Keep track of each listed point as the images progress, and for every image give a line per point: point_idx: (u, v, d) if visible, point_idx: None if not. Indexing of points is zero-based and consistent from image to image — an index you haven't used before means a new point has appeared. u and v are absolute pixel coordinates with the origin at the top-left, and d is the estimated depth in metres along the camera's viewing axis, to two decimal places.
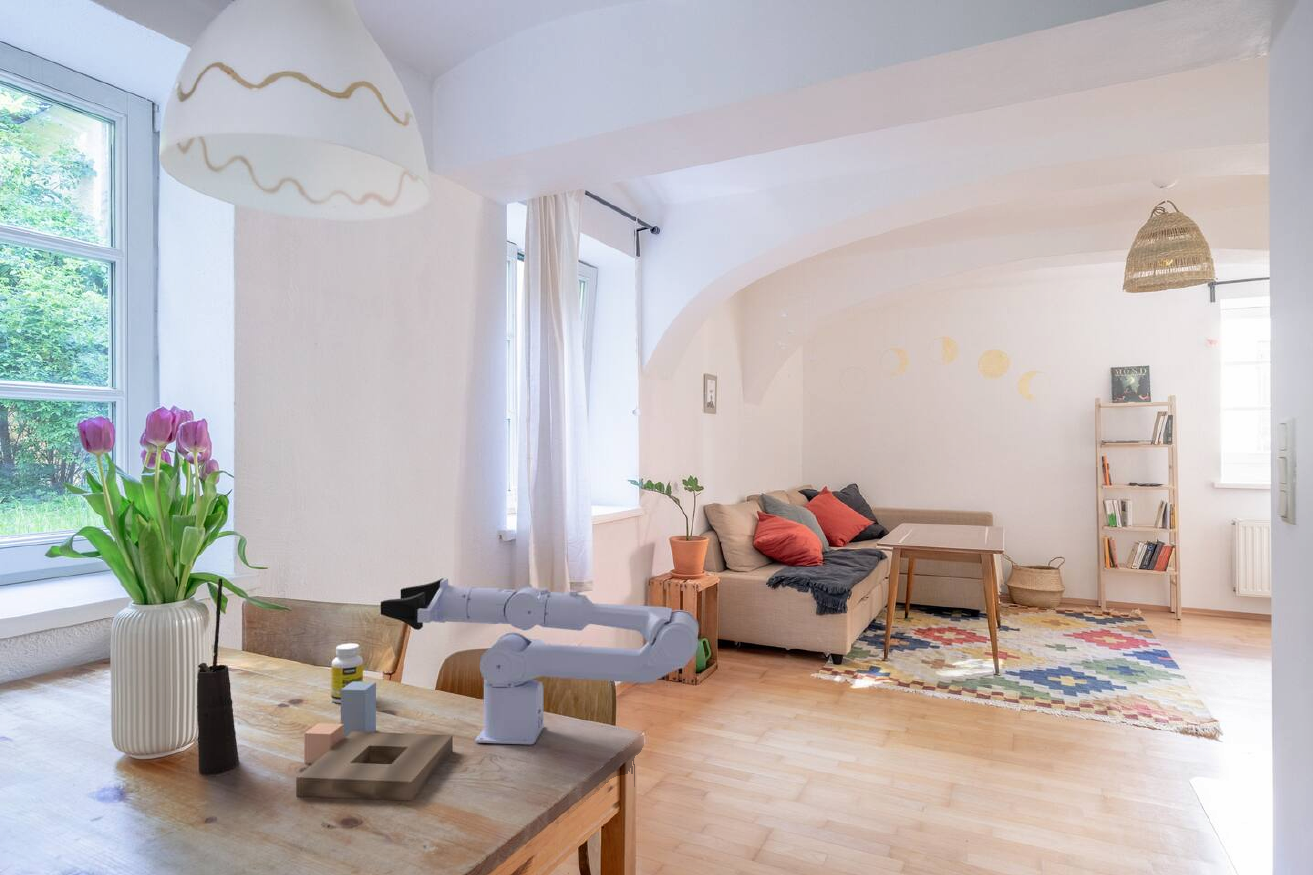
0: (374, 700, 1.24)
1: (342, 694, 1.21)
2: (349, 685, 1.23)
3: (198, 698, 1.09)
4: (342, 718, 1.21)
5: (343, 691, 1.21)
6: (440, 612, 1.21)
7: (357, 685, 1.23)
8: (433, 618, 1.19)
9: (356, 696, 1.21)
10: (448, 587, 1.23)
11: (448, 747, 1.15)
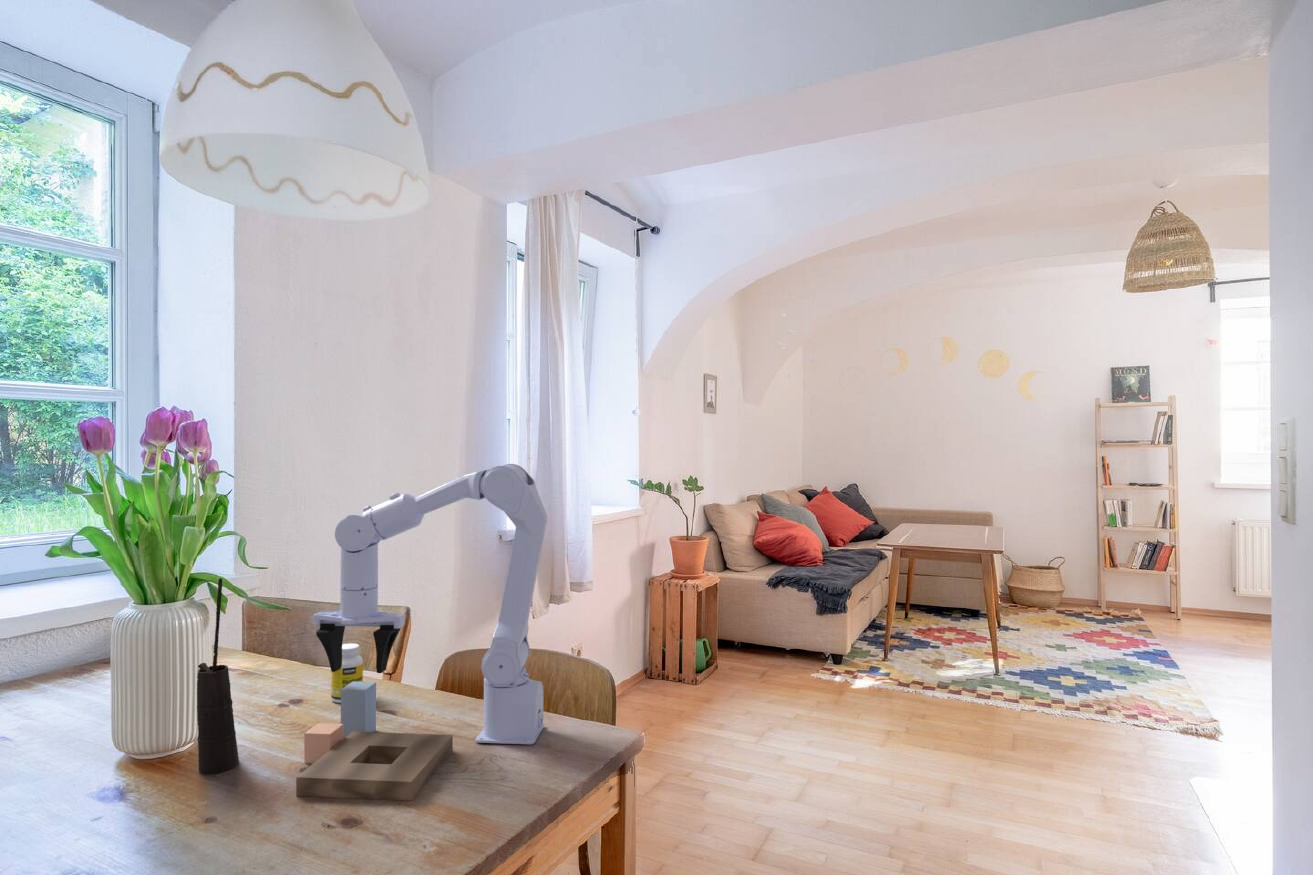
0: (374, 700, 1.24)
1: (342, 694, 1.21)
2: (349, 685, 1.23)
3: (198, 698, 1.09)
4: (342, 718, 1.21)
5: (343, 691, 1.21)
6: (377, 613, 1.24)
7: (357, 685, 1.23)
8: (390, 615, 1.24)
9: (356, 696, 1.21)
10: (352, 615, 1.20)
11: (448, 747, 1.15)
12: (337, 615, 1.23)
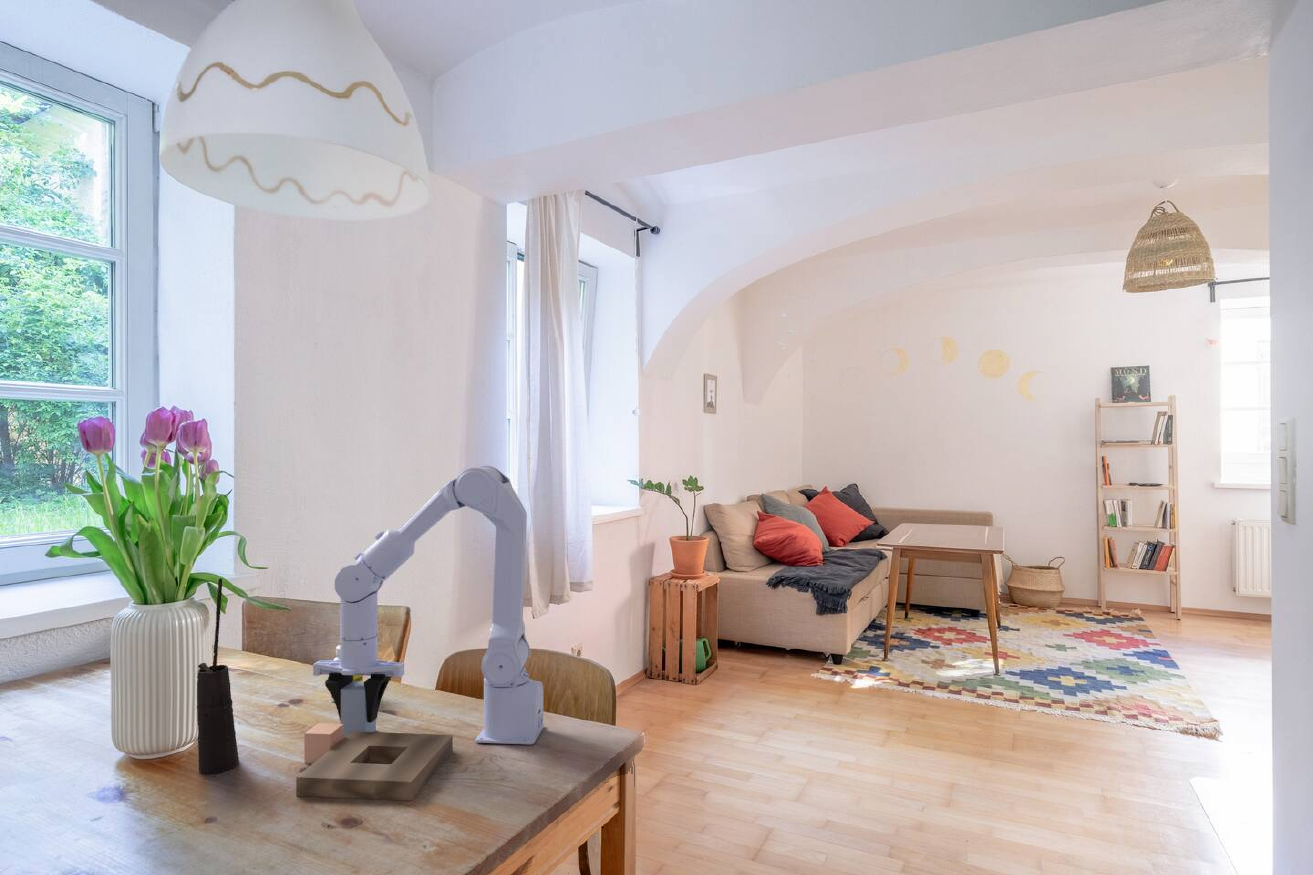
0: None
1: (342, 694, 1.21)
2: (349, 685, 1.23)
3: (198, 698, 1.09)
4: (342, 718, 1.21)
5: (343, 691, 1.21)
6: (377, 661, 1.24)
7: (357, 684, 1.23)
8: (390, 663, 1.24)
9: (356, 696, 1.21)
10: (352, 665, 1.20)
11: (448, 747, 1.15)
12: (337, 664, 1.23)
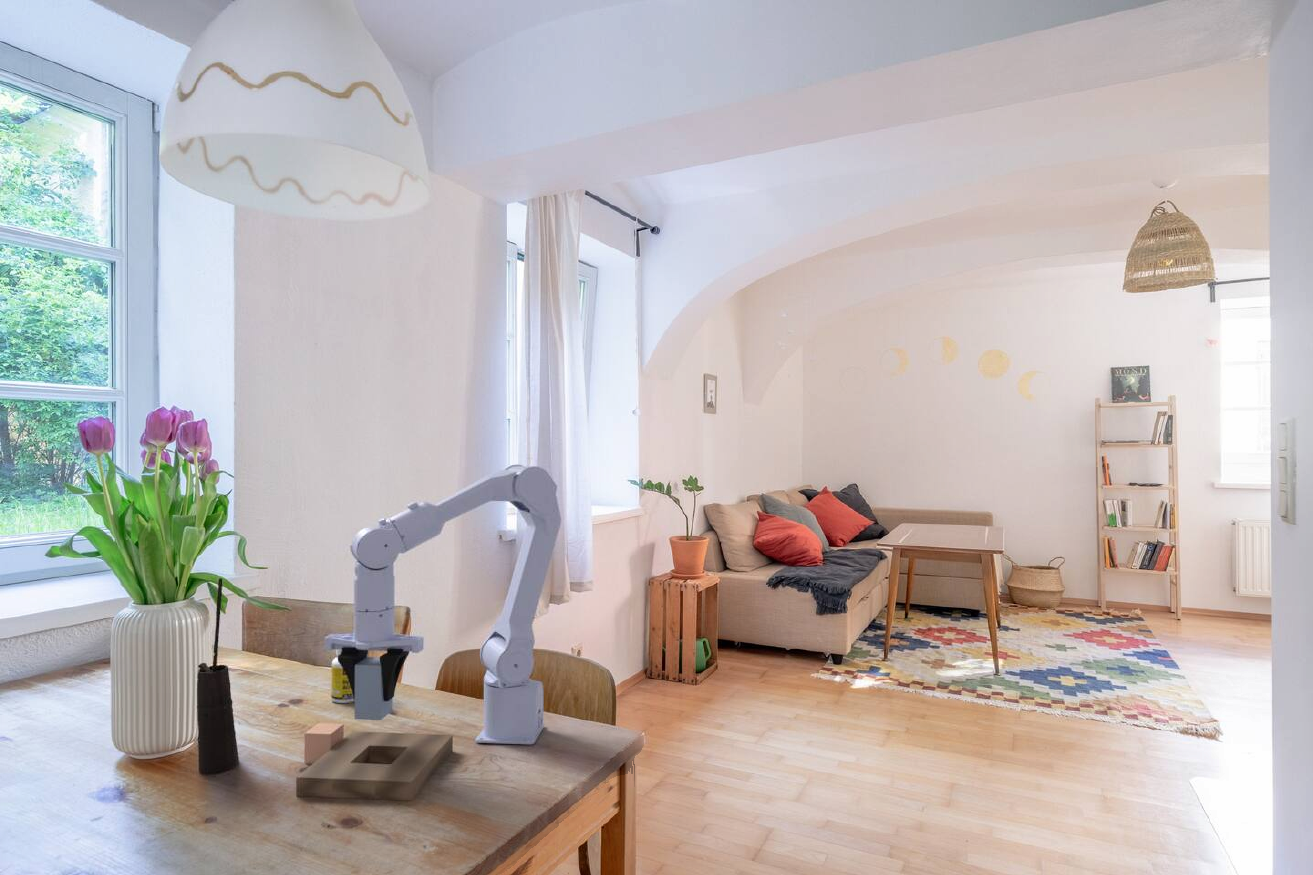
0: None
1: (356, 670, 1.11)
2: (364, 661, 1.13)
3: (198, 698, 1.09)
4: (356, 696, 1.11)
5: (357, 667, 1.11)
6: (394, 635, 1.13)
7: (372, 660, 1.13)
8: (408, 637, 1.14)
9: (371, 673, 1.11)
10: (367, 638, 1.10)
11: (448, 747, 1.15)
12: (350, 638, 1.13)
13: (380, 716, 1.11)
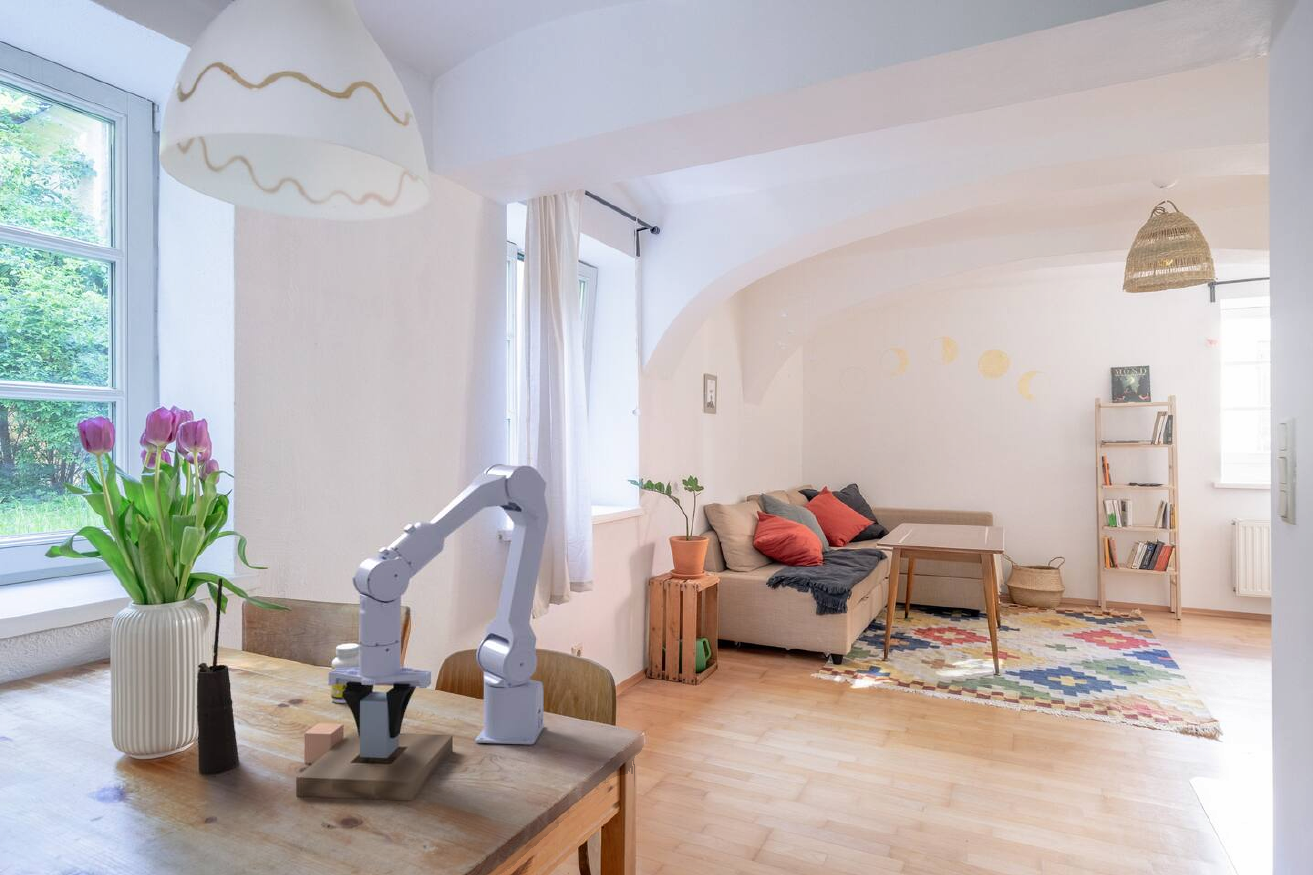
0: None
1: (361, 706, 1.07)
2: (369, 696, 1.09)
3: (198, 698, 1.09)
4: (361, 733, 1.07)
5: (363, 703, 1.07)
6: (400, 669, 1.10)
7: (378, 695, 1.10)
8: (415, 672, 1.10)
9: (377, 709, 1.07)
10: (373, 673, 1.07)
11: (448, 747, 1.15)
12: (355, 672, 1.09)
13: (387, 754, 1.07)
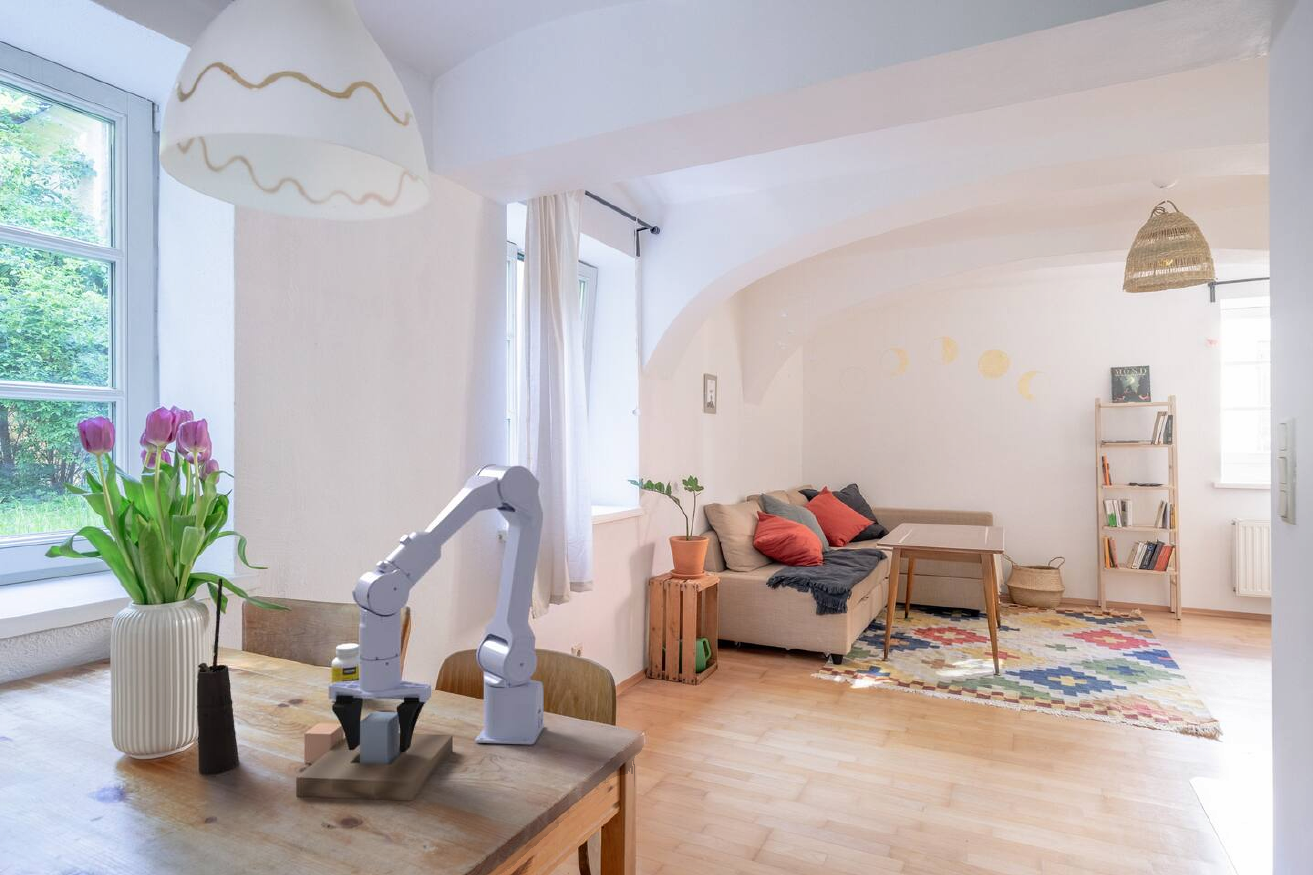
0: (397, 733, 1.11)
1: (361, 727, 1.07)
2: (370, 717, 1.09)
3: (198, 698, 1.09)
4: (361, 754, 1.07)
5: (363, 724, 1.07)
6: (400, 683, 1.10)
7: (378, 716, 1.10)
8: (415, 685, 1.10)
9: (377, 730, 1.07)
10: (373, 687, 1.07)
11: (448, 747, 1.15)
12: (355, 686, 1.09)
13: None
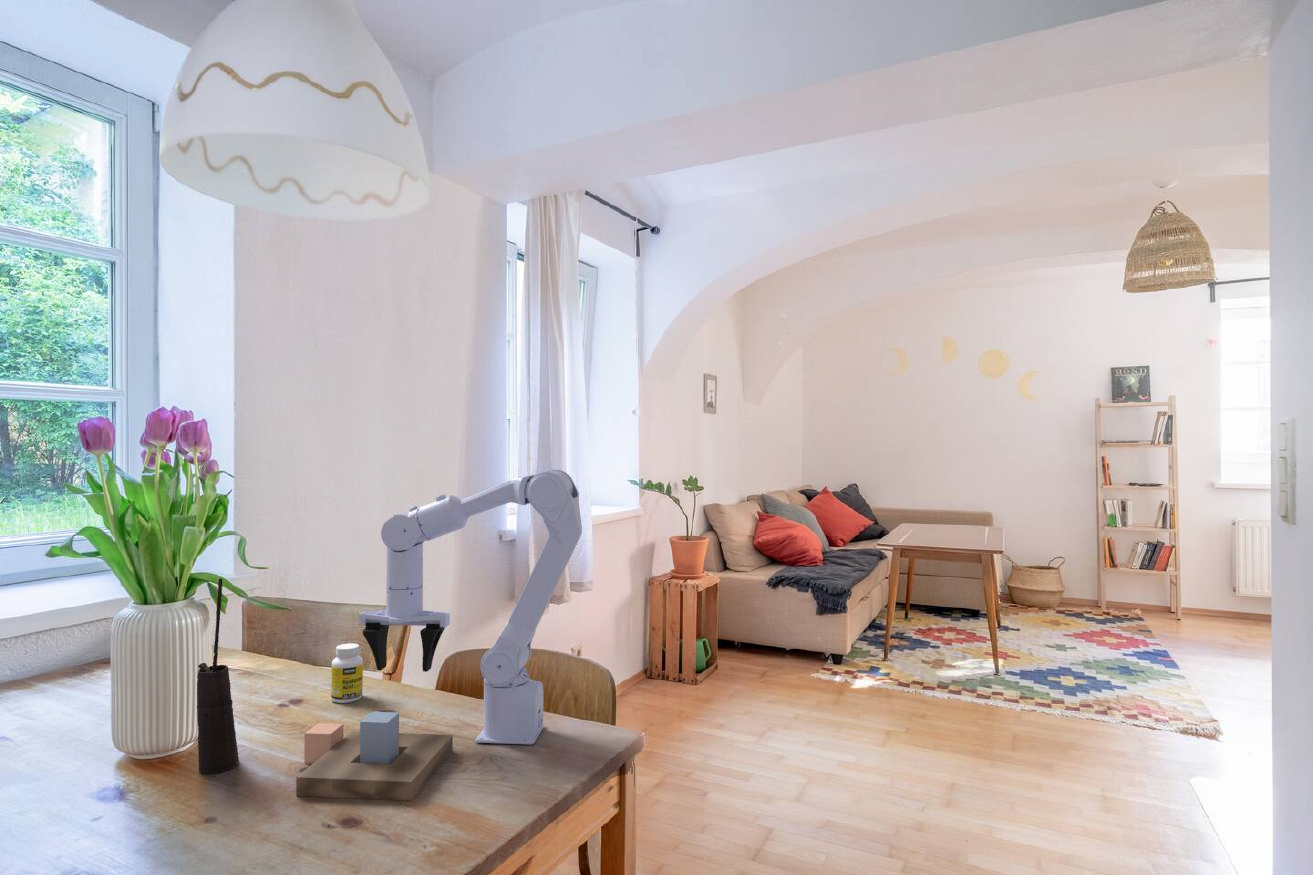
0: (397, 733, 1.11)
1: (362, 727, 1.07)
2: (370, 717, 1.09)
3: (198, 698, 1.09)
4: (361, 754, 1.07)
5: (363, 724, 1.07)
6: (422, 611, 1.24)
7: (378, 716, 1.10)
8: (435, 613, 1.25)
9: (377, 730, 1.07)
10: (399, 614, 1.21)
11: (448, 747, 1.15)
12: (382, 614, 1.24)
13: None
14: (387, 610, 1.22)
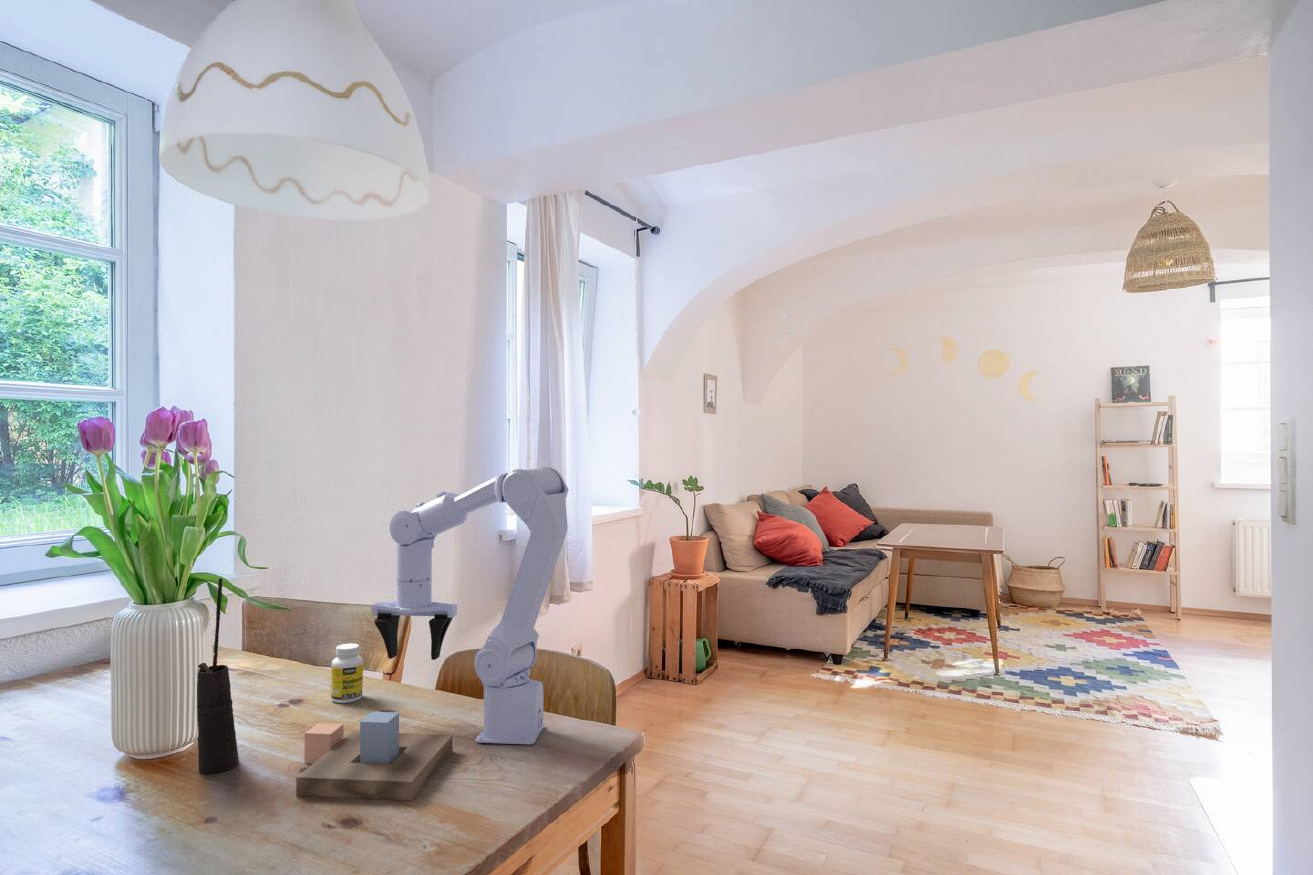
0: (397, 733, 1.11)
1: (362, 727, 1.07)
2: (370, 717, 1.09)
3: (198, 698, 1.09)
4: (361, 754, 1.07)
5: (363, 724, 1.07)
6: (431, 603, 1.31)
7: (378, 716, 1.10)
8: (443, 605, 1.31)
9: (377, 730, 1.07)
10: (409, 605, 1.28)
11: (448, 747, 1.15)
12: (393, 605, 1.31)
13: None
14: (398, 601, 1.29)
